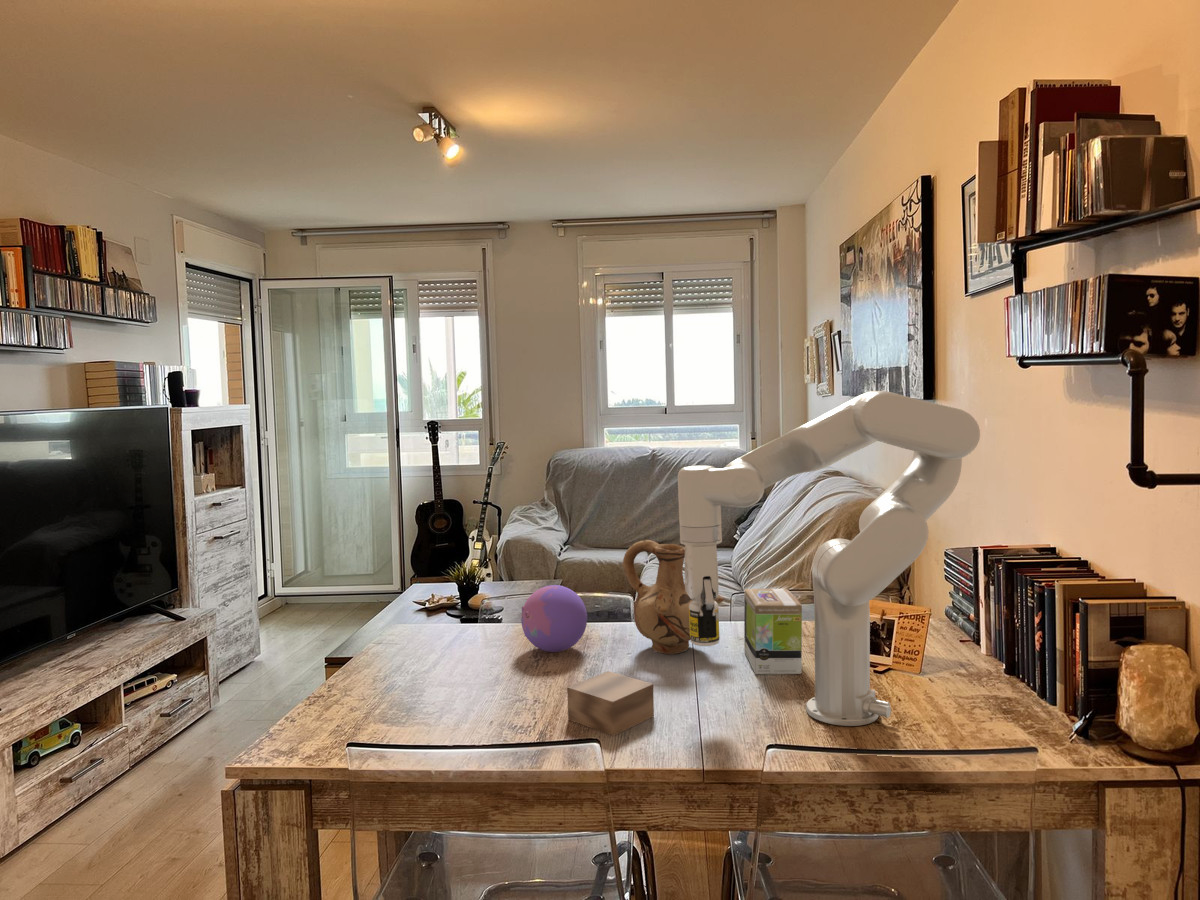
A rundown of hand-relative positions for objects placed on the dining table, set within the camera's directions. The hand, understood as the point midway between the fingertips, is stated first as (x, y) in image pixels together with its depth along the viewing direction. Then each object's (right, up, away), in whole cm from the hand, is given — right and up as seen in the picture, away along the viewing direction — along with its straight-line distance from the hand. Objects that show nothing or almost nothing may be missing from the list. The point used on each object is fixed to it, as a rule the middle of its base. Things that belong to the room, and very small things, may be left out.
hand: (704, 631), depth 152 cm
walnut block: (-17, -15, -1) cm, 23 cm away
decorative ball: (-29, -13, +39) cm, 50 cm away
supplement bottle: (0, -2, 0) cm, 2 cm away
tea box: (+18, -13, +27) cm, 35 cm away
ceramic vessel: (-2, -12, +37) cm, 39 cm away
